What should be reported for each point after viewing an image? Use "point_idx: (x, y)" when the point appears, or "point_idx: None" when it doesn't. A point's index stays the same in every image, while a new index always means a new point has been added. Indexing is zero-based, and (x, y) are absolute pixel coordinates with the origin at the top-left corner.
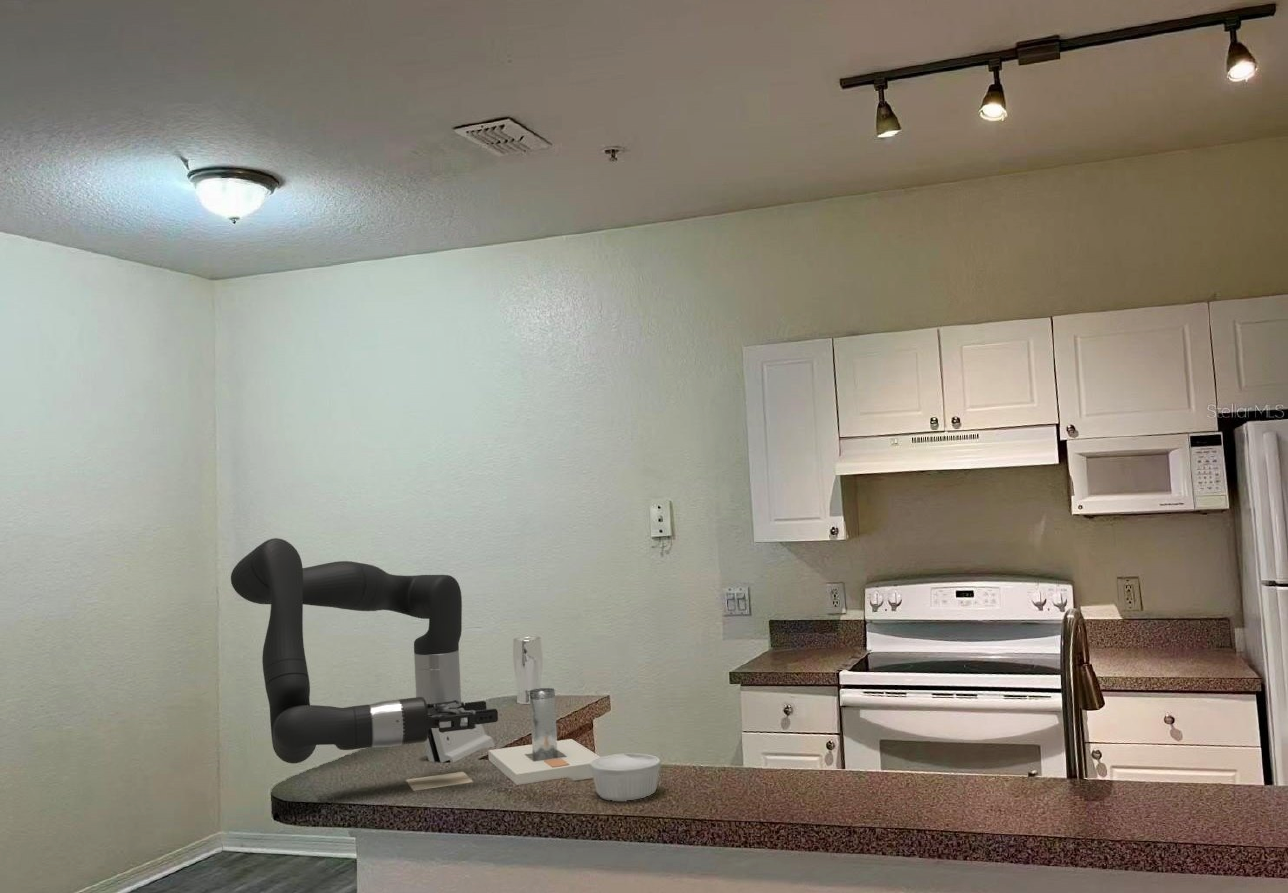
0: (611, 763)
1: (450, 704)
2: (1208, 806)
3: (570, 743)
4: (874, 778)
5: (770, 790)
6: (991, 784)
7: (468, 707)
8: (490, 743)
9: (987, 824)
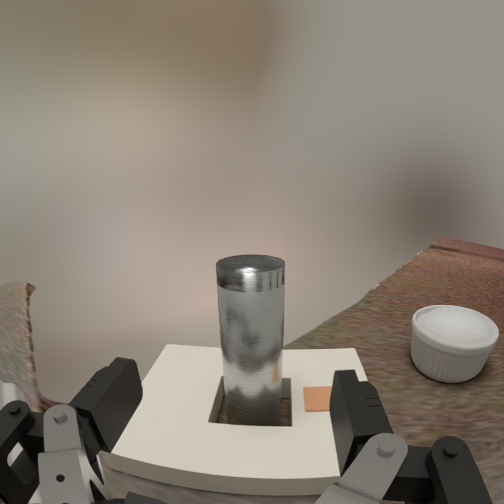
0: (468, 332)
1: (86, 487)
2: (465, 244)
3: (195, 352)
4: (417, 269)
5: (442, 296)
6: (435, 256)
7: (104, 418)
8: (20, 396)
9: (497, 267)
